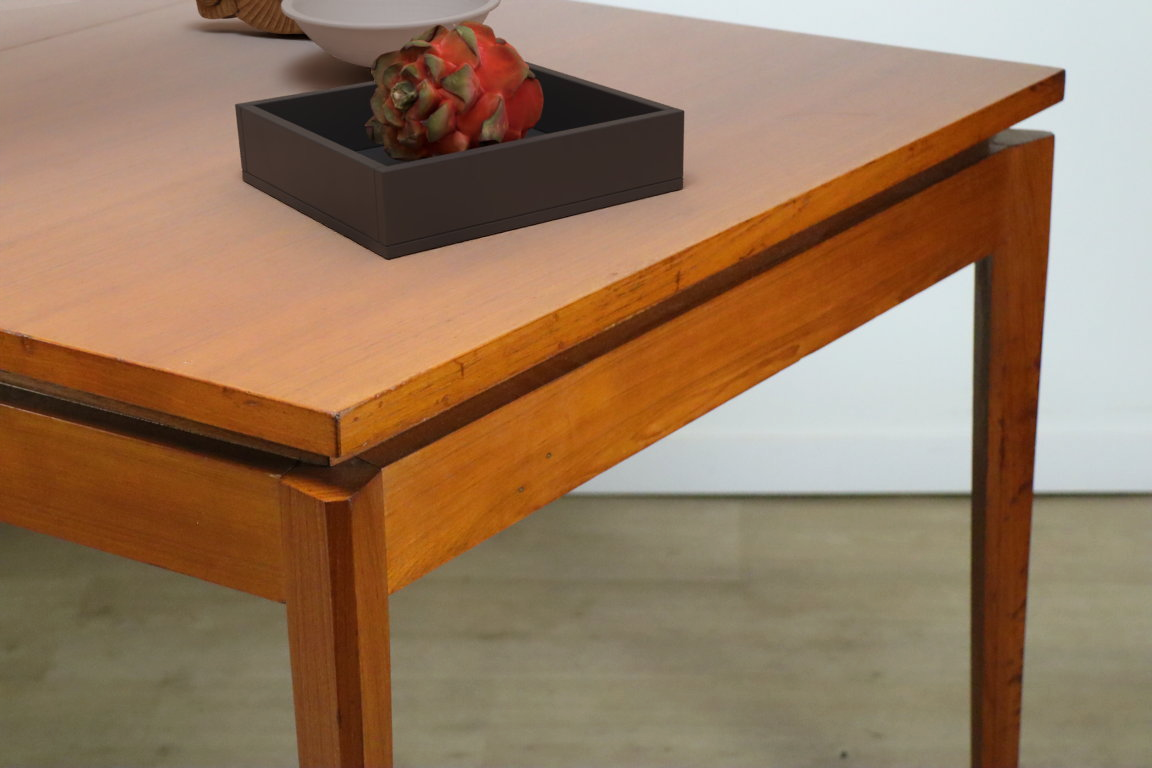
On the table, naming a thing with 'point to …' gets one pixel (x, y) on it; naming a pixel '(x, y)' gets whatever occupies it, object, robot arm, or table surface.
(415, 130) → the dragon fruit
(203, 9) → the wooden carving
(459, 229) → the tray
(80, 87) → the table surface
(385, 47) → the dish
